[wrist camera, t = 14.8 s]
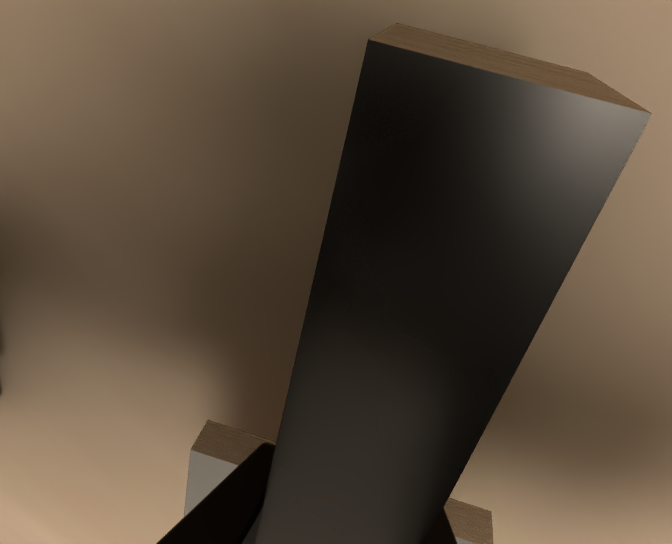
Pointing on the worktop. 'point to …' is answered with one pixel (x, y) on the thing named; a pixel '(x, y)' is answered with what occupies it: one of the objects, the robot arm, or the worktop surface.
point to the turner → (428, 285)
